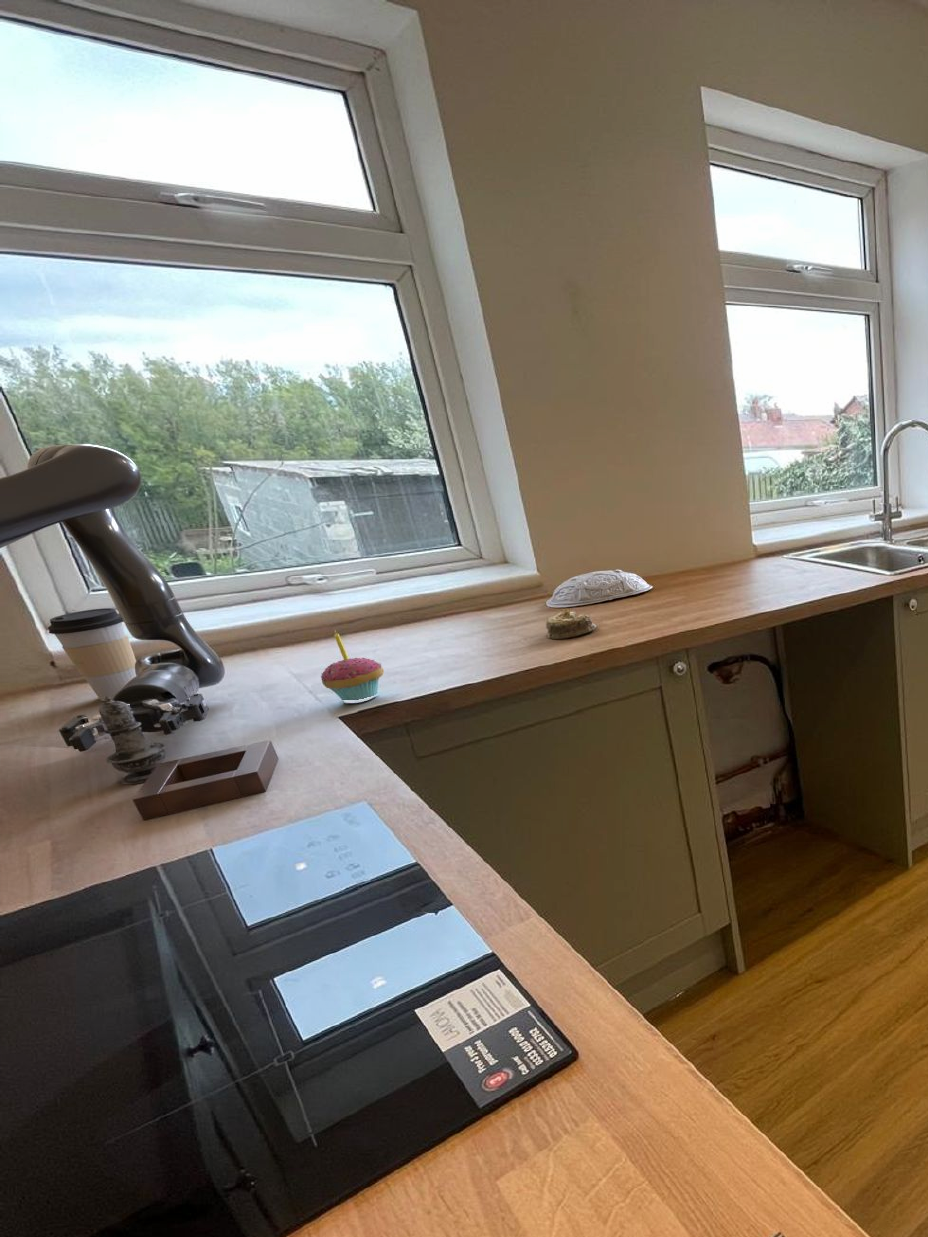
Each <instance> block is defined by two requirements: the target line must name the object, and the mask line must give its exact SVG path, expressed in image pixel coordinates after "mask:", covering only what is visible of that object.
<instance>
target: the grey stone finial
mask: <svg viewBox="0 0 928 1237" xmlns="http://www.w3.org/2000/svg"><path fill="white" fill-rule="evenodd" d="M111 699H112V698H110V697H108V696H106V699H105V700H107V701H104V703H103V704H101V706H99V707H98V714H100V715H101V717H102V719H103V721H104V723H105V725H106V727H107V728H108V729H107V730H105V733H107V734H110V736H111V738H112V739H111V740H112V742H113V744H114V747H115V748H114V749H115V752H114V753H113V754H111V755H109V756H108V757H107V758H106V762H107V763H108V764H111V765H112V767H113V768H115V769H116V770H117V771H119V772H122V773H125V774H126V775H125V777H124V778H122V779H121V782H120V783H121V784H122V785H125V786H128V785H129V786H130V785H131V786H132V785H139V784H144V783H145V781H146V780H147V778H148V777H149V776H150V774H151V773H152V771H153V770H154V769H155V767H156V766H157V764H159V763H164V760H165V758H166V751H165V748H166V745H165V744H164V743H161V742H151V741H150V740H149V739H147V737H146V736H145V735H144V732H142V731H141V729H140V727H139V726H140V725H141V722H136V721H135V719H134V717H133V715H132V713H131V711H130V709H129V707H128V705H127V704H126V703H124V702H121V701H112V700H111Z"/></svg>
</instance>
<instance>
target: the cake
mask: <svg viewBox="0 0 928 1237" xmlns="http://www.w3.org/2000/svg"><path fill="white" fill-rule="evenodd" d="M596 628H597V624H596V623H593V620H592V619H591V616H589V615H587V614H582V613H581V614H579V615H578V614H577V613H576V611H570V610H569V609H568V608H567V607H564V610H563V612H559V613H556V614H554V615H553V616H550V617H548V619H547V620H546V624H545V629H546V630H547V633H546V638H547V639H550V640H553V639H554V640H561V639H568V638H574V637H577V636H580V635H585V634H587V633H590V632H593V631H594V630H595V629H596Z"/></svg>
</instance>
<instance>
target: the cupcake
mask: <svg viewBox="0 0 928 1237" xmlns="http://www.w3.org/2000/svg"><path fill="white" fill-rule="evenodd" d="M333 632H334V639H335V642H336V644H337V646H338V648H339V652H340V654H341V656H342V658H343V659H342V660H338V661H337V662H332V663H331V664H329V665H328V666H327V667H325V669H324V670H323V672H322V673H321V676H320V678H321V683H322V685H323V686H324V687H325V688H327V689H329V690H331V691H332V692H334V693H335V694H336V695H337V696H338V697H339V698H340V700H341V701H342V700H359V699H364V698H367V697H371V696H374V695H376V694H377V693H378V692H379V679H380V678H381V677H382V676H383V674H384V672H385V671H384V668H383V666H382V663H381V662H377V661H376V660H374V659H370V658H366V657H362V658H361V657H355V658H353V657H352V658H349V656H348V654H347V651H346V649H345V646H344V643H343V641H342V639H341V638H342V637H341V636H340V634H339V633H337V631H336V629H333ZM378 694H379V693H378Z"/></svg>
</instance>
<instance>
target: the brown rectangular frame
mask: <svg viewBox="0 0 928 1237" xmlns="http://www.w3.org/2000/svg"><path fill="white" fill-rule="evenodd" d="M278 761H279V756H278V753H277V751H276V750H275V747H274V745H273V742H272V740H271V739H268V740H263V741H259V742H253V743H248V744H244V745H240V746H236V747H231V748H226V749H221V750H217V751H211V752H206V753H201V754H197V755H193V756H187V757H183V758H179V759H173V760H169V761H163V762H162V763H159V764H157V766H156V767H155V769H154V770H153V771H152V773H151V774H150V776H149V777H148V778H147V780H146V781H145V782H144V783H142V785H141V787H140V788H139V790H138V791H137V793H136V794H135V795H134V797H133V798H132V802H133V804H134V806H135V807H136V810H137V811H138V813H139V816H141V819H142V820H143V821H147V820H151V819H155V818H159V817H163V816H169V815H172V814H176V813H180V812H184V811H185V812H186V811H190V810H193V809H197V808H201V807H202V808H203V807H206V806H210V805H211V806H212V805H214V804H215V805H216V804H218V803H219V804H220V803H223V802H227V801H231V800H236V799H239V798H244V797H249V796H252V795H258V794H261V793H265V792H267V789H268V787H269V784H270V781H271V779H272V776H273V775H274V771H275V768H276V766H277V763H278Z"/></svg>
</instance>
